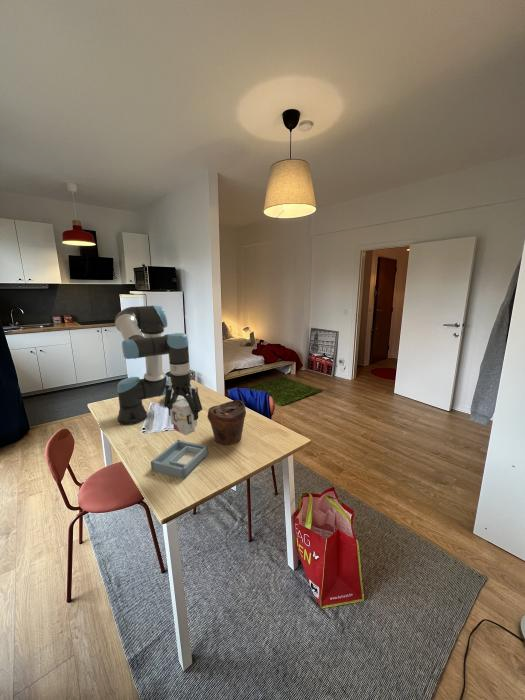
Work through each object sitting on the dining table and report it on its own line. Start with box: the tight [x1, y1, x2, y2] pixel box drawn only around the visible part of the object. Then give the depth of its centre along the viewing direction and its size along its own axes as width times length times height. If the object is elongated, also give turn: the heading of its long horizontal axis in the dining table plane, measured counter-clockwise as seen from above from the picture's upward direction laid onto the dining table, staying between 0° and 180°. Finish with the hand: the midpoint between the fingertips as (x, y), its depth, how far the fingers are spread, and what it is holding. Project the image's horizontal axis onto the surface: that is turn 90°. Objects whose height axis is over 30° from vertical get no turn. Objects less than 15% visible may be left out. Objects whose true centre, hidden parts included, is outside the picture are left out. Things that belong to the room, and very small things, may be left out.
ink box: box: [172, 400, 196, 436], centre depth 118 cm, size 9×5×12 cm, turn 50°
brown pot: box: [207, 399, 247, 446], centre depth 140 cm, size 18×20×18 cm
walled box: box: [150, 439, 209, 480], centre depth 123 cm, size 16×18×4 cm
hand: (184, 424), depth 118 cm, fingers closed on ink box, 9 cm apart
